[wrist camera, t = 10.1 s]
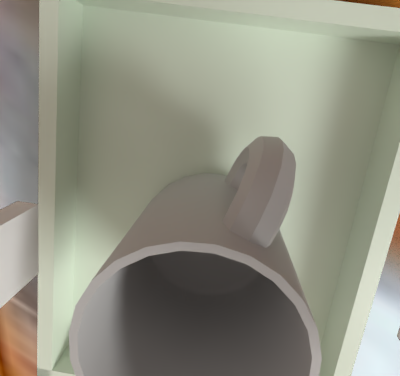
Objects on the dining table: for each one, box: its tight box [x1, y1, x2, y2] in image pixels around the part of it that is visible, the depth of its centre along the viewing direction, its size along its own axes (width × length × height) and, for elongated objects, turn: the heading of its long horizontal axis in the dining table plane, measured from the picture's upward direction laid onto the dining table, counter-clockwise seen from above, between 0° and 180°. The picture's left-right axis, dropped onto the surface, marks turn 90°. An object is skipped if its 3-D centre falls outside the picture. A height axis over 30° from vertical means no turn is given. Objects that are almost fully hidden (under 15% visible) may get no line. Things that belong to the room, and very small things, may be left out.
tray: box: [37, 0, 400, 376], centre depth 17 cm, size 20×16×3 cm
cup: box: [69, 136, 322, 376], centre depth 14 cm, size 7×10×9 cm
